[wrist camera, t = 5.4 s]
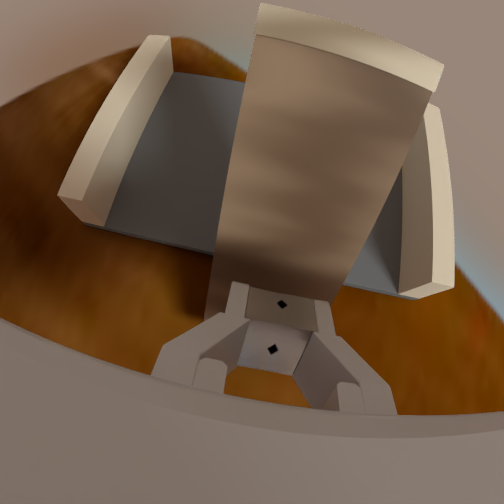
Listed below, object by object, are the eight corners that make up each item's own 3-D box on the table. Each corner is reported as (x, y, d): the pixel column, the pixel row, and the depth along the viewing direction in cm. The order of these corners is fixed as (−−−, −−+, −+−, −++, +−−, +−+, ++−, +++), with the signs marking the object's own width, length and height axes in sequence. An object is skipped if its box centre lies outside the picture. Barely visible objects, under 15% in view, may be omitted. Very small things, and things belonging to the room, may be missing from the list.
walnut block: (197, 354, 15) (260, 2, 6) (214, 291, 18) (272, 10, 9) (290, 373, 15) (444, 65, 6) (293, 309, 18) (397, 48, 9)
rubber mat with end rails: (85, 224, 18) (56, 195, 14) (155, 74, 22) (148, 34, 18) (413, 300, 19) (454, 287, 15) (413, 138, 23) (439, 108, 19)
